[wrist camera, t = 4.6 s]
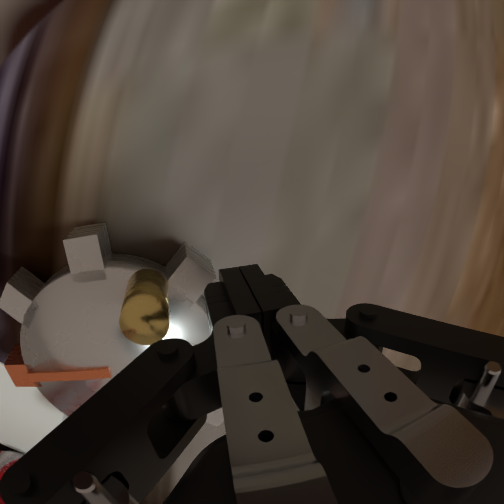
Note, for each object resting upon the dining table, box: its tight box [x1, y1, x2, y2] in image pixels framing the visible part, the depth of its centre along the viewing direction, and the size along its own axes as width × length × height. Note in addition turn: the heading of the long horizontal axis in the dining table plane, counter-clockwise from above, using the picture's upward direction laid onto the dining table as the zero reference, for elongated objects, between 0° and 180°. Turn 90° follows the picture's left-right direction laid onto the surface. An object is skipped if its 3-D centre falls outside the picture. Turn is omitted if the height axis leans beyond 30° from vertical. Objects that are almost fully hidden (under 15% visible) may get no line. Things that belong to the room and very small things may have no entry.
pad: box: [0, 362, 64, 454], centre depth 17 cm, size 11×11×1 cm
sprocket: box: [0, 222, 224, 427], centre depth 14 cm, size 14×14×5 cm
